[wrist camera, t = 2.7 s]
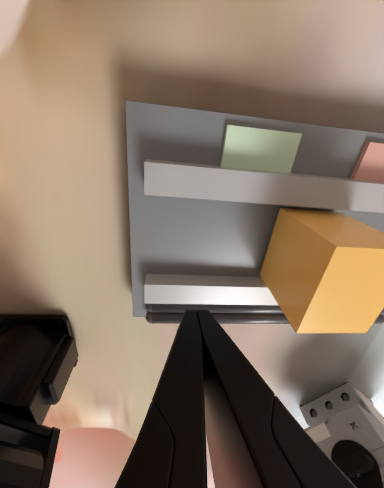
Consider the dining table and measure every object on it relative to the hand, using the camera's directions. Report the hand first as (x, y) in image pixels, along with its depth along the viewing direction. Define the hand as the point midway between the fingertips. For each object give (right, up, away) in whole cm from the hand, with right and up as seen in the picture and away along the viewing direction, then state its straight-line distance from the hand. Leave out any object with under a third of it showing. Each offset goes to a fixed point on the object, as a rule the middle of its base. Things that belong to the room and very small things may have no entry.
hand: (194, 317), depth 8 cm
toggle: (+7, +3, +6) cm, 10 cm away
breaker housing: (+7, +4, +8) cm, 11 cm away
